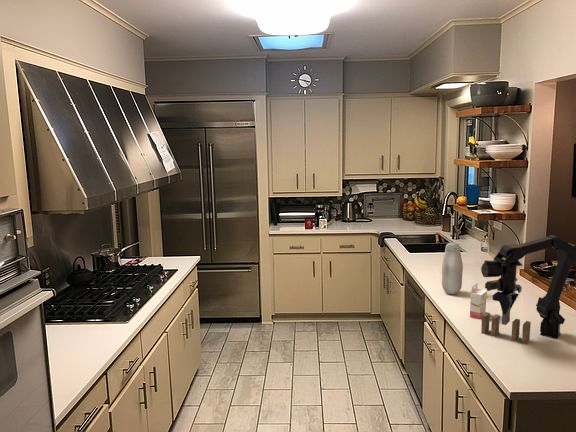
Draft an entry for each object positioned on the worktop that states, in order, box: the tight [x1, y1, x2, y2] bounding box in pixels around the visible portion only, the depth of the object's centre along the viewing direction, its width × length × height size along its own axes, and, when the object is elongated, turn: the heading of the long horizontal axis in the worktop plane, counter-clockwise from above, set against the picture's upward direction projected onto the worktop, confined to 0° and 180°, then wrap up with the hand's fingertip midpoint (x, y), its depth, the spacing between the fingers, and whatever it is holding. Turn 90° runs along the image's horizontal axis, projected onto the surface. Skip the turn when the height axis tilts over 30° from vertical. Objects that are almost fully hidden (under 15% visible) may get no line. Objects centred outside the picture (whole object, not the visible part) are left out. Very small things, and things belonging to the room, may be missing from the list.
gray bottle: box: [441, 241, 464, 295], centre depth 246 cm, size 10×10×28 cm
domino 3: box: [510, 318, 521, 343], centre depth 190 cm, size 2×5×8 cm, turn 139°
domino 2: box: [490, 313, 501, 338], centre depth 195 cm, size 2×5×8 cm, turn 139°
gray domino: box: [501, 307, 511, 326], centre depth 191 cm, size 2×5×8 cm, turn 139°
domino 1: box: [480, 311, 491, 335], centre depth 197 cm, size 2×5×8 cm, turn 139°
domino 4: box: [521, 320, 532, 345], centre depth 187 cm, size 2×5×8 cm, turn 139°
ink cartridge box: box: [469, 282, 488, 320], centre depth 215 cm, size 9×5×15 cm, turn 141°
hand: (506, 312), depth 191 cm, fingers closed on gray domino, 5 cm apart
